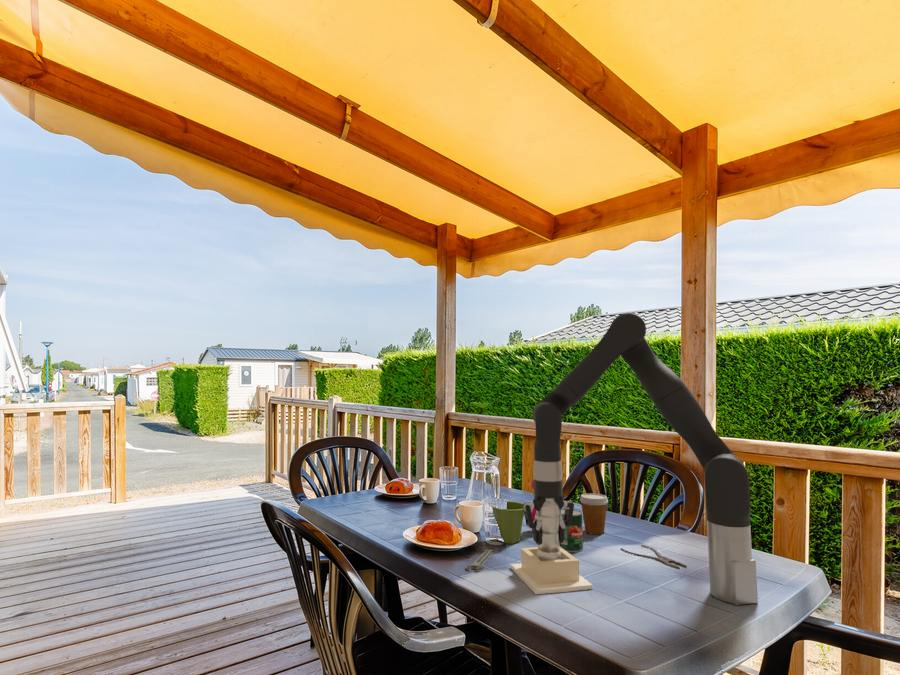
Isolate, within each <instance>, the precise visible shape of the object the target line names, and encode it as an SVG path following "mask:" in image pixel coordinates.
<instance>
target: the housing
mask: <svg viewBox="0 0 900 675" xmlns="http://www.w3.org/2000/svg"><path fill="white" fill-rule="evenodd" d="M537 550H538V546H534V547H533V546H532V547H521V549H520V554H521V556H520V558H521V560H520V563H510V569H511V570H512V571H513V572H514V573H515V575H517V577H519V579H520V580H521V581H522V582H524V584H525V585H526V586H527V587H528V588H529V589H530V590H531V591H532V592H533V593H534V595H546V593H547V594H554V593H557V594H558V593H565V592H576V591H577V592H579V591H586V590H588V589H589V590H593V583H591V582H589V581H588V580H587V579H586V578H584V577H583V576H582V575H580V559H578V558H577V557H575V556H573V555H572V554H571V553H570V552H567V551H565V550H564V549H563V548H561V547H560V551H561V556H562V560H550V561H541V560H540V559H538V558H537Z"/></svg>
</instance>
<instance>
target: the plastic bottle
mask: <svg viewBox="0 0 900 675" xmlns="http://www.w3.org/2000/svg"><path fill="white" fill-rule="evenodd" d="M545 499H546V501H545V502H544V504H543V505H542V507H541V508H540V511H537V510H536V514H537V517H540V516H542V522H541V528H540V530H541V545H538V544H537V547H538V550H537V558H538V559H540V560H541V561H550V560H562V556H561V551H560V543H559V524H560V514H561V510H560V508H558V507H559V506H558V507H557V506H556V505H558V504H557V503H556V502H555V501H554V498H545ZM545 505H547V506H546V507H545Z"/></svg>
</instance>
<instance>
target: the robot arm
mask: <svg viewBox="0 0 900 675" xmlns="http://www.w3.org/2000/svg"><path fill="white" fill-rule="evenodd" d="M646 333H647V327H646V323H645V321H644V319H643V318H642V317H641V316H640V315H638V314H636V313H631V312H625V313H622V314H620V315H618V316H616V317H615V318H614V319H613V320H612V321H611V323H610V326H609V328H608V329H607V331H605V334H604V335H603V336H602V337H601V339H600V340H599V341H598V343H596V345H594V347H593V348H592V349H591V351H590V352H589V353H587V355H586V356H585V357H584V358H583V359H581V361H579V363H578V364H576V366H574V368H572V369H571V370H570V372H568V374H567V375H566V376H565V377H563V379H562V380H560V381H559V383H558V384H557V385H556V386H555V388H554V389H552V390H551V392H549V393H547V395H545V397H543V399H541V400H540V401H539V402H538V403H537V404H536V405H535V406H534V408H533V411H532V419H533V421H534V423H535V440H534V442H533V443H534V444H533V448H534V449H533V453H534V454H533V457H534V458H533V459H534V461H533V473H532V476H533V479H534V489H533V491H534V495H533V496H534V497H533V501H532V502H530V503H525V502H524V503H523V510H524V520H525V524H526V526H527V527H529V528H530V529H532V528H533V532H532V533H533V536H532V537H533V538H532V539H533V542H534V543H536V545H537V546H538V545H541V530H540V528H541V522H542V516H540V517H537V514H536V515H535V520H534V522H533V519H532V513H531V512H532V511H533V507H534V508H535V509H536V510H537V511H540V508H541V507H542V505H543V504H544V502H545V501H546V499H545V498H554V501H555V502H556V503H557V504H558V505H556V506H557V507H558V506H559V507H558V508H560V510H561V509H565V513H564V520H563V518H562V515H561V514H560V524H559V543H563V541H564V539H565V534H564V529H565V527H566V526H570V525H571V524H572V517H573V510H574V508H575V504H574V502H572V501H570V500H564V498H563V466H562V453H561V452H562V450H561V436H562V425H563V424H562V416H563V415H564V414H565V413H566V412H567V410H568V411H569V409H570V408H571V407H573V406H575V405H576V404H577V403H579V402H580V400H582V399H583V398H584V397H585V396H586V395H587V393H589V392H590V391H591V389H592V388H593V387H594V386H595V384H597V383H598V381H599V380H600V379H601V377H602V376H603V375H604V373H606V371H607V370H608V368H610V366H611V365H612V364H613V363H614V362H616V360H617V359H618V358H619V357H621V358H622V359H623V360H624V361H625V362H626V363H627V365H628V366H629V368H630V369H632V371H633V372H634V374H635V376H636V377H637V379H638V381H639V383H640V384H641V386H642V388H643V389H644V391H645V392H646V394H647V395H648V396H649V398H650V400H651V402H652V403H653V404H654V406H655V407H656V409H657V410H658V411H659V413H660V415H661V416H662V417H663V418H664V420H665V421H666V422H667V423H668V424H669V426H670V427H671V428H672V429H673V430H674V431H675V432H676V433H677V435H678V436H680V437H681V438H682V439H683V441H684V442H685V443H686V444H687V445H688V447H689V448H690V449H691V451H692V452H693V454H694V456H695V457H696V459H697V460H698V462H699V464H700V466H701V467H702V469H703V471H704V472H703V473H704V490H705V491H704V493H705V494H704V495H705V511H706V526H707V527H706V528H707V529H706V530H707V548H708V549H707V552H708V572H709V573H708V574H709V591H710V594H711V596H712V597H714V598H715V599H718V600H720V601H722V602H726V603H730V604H732V605H735V606H739V605H740V606H741V605H748V604H749V605H750V604H751V605H752V604H757V603H759V599H758V598H759V597H758V578H757V561H756V560H755V559H753V553H752V534H751V533H752V531H751V529H752V528H751V500H750V499H751V498H750V497H751V496H750V479H749V473H748V469H747V468H746V466H745V464H744V462H743V461H742V460H741V459H740V458H738V456H737V455H736V454H735V453H734V452H733V451H732V450H731V448H729V447H728V445H727V444H726V443H725V442H724V441H723V439H722V438H721V437H720V436H719V435H718V434H717V432H716V431H715V429H714V428H713V426H712V424H711V423H710V421H709V419H708V416H707V415H706V414H705V411H704V410H703V408H702V407H701V405H700V403H699V402H698V400H697V399H696V397H695V396H694V395H693V393H692V392H691V390H690V389H689V388H688V386H687V385H686V384H685V383H684V381H683V380H682V378H680V376H678V375H677V374H676V372H674V371H673V370H672V369H670V367H668V366H667V365H666V364H665V363H664V362H662V361H661V359H659V357H658V356H657V355H656V353H654V351H653V350H652V348H651V346H650V344H649V343H648V342H647V340H646V338H645V337H646ZM546 506H547V505H545V507H546Z"/></svg>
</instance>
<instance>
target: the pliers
mask: <svg viewBox="0 0 900 675" xmlns="http://www.w3.org/2000/svg"><path fill="white" fill-rule="evenodd" d="M641 545H642V546H644V547H643V548H646V547H647V548H646V549H648V548H650V549H651V550H650V549H649V550H650V551H652V550H653V551H652V552H654V554H655V555H656V556H651V555H647V554H641V553H637V552H632V551H629V550H626V549H624V548H620V550H621V549H622V550H623V551H622V550H621V551H622V552H624V551H625V552H624V553H627V552H628V553H627V554H629V553H631V554H630V555H632V554H634V555H633V556H636V555H637V556H638V557H641V556H642V558H646V557H647V558H646V559H650V558H651V559H652V560H654V559H655V561H658V562H659V563H663V564H664V565H666V566H668V567H671V568H675V569H678V570H680V569H681V568H680V566H681V567H683V568H687V567H688V566H687V565H686V564H683V563H682V562H679V561H677V560H674V559H673V558H669V557H667V556H663V555H662V554H661V553H660V552H658V551H657V550H656V549H654V548H653V547H651V546H649V545H644V544H641ZM642 546H641V547H642ZM659 557H660V558H659ZM651 559H650V560H651ZM669 562H670V563H669Z"/></svg>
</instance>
